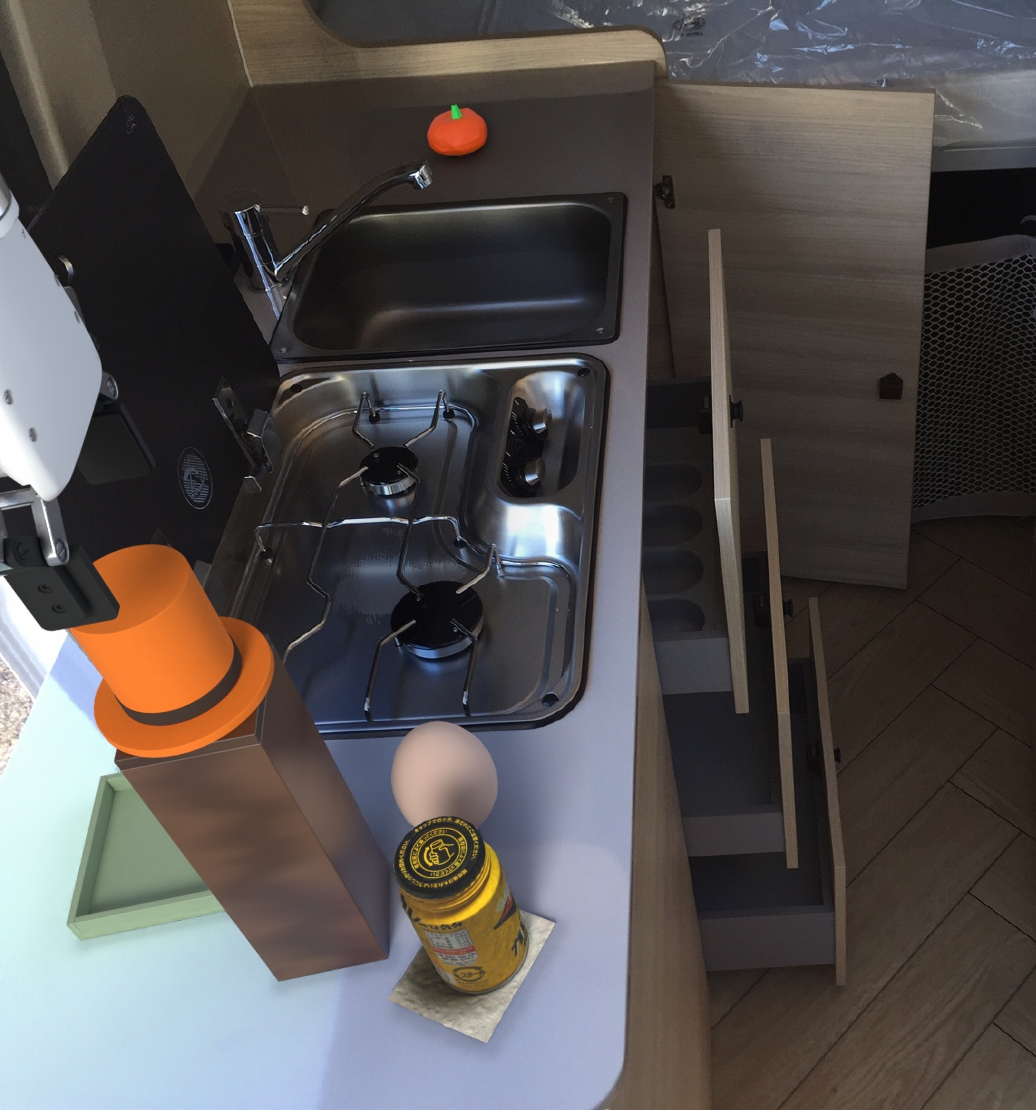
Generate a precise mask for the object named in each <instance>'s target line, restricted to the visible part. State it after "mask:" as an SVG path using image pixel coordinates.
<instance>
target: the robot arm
mask: <svg viewBox="0 0 1036 1110" xmlns="http://www.w3.org/2000/svg"><path fill="white" fill-rule="evenodd" d="M19 215H20V206H19V204H18V202H17V200H16V198H15V196H14V195H13V192H12V190H11V189H10V187H9V185H8V183H7V182H6V180H5V178H4V176H3V174H2V172H0V478H6V477H9V478H11V479H12V480H13V481H15V482H17V483H18V484H20V486H23V487H24V486H27V485H29V486H30V487H26V488H20V489H15V490H10V491H4V492H0V577H3V578H4V580H5V581H6V583H8V585H9V587H10V588H11V589H12V591H14V593H15V595H16V596H17V597H18V598H19V600H20V601H21V603H22V605H24V607H25V608H26V610H27V611H28V612H29V613H30V615H31V616H32V618H33V619H34V620H35V621H36V623H37V624H38V626H39V627H40V628H41V629H42V630H43V631H47V632H56V631H62V630H67V629H68V630H69V628H73V627H78V626H84V625H89V624H94V623H99V622H105V621H110V620H114V619H116V618H117V616H118V613H119V609H120V605H119V603H118V601H117V600H116V598H115V597H114V595H113V594H112V592H111V590H110V589H109V587H108V586H107V584H106V583H105V581H104V580H103V578H102V577H101V575H100V574H99V572H98V571H97V569H96V568H95V566H94V565H93V563H94V562H92V560H91V558H90V557H89V555H88V554H87V552H86V551H85V549H84V548H83V546H82V545H81V543H78V544H77V543H76V544H69V543H68V539H67V538H68V537H67V534H66V530H65V529H66V528H65V525H64V520H63V517H62V512H61V507H60V504H59V499H58V496H59V495H60V494H61V493H62V492H63V491H64V490H65V488H66V486H67V485H68V484H69V482H70V480H71V478H72V476H73V473H74V471H75V467H76V466H77V468H78V469H79V471H80V472H81V474H82V475H83V478H84V479H85V481H86V482H87V483H89V484H91V485H94V486H95V485H100V484H101V485H102V484H107V483H111V482H118V481H122V480H123V481H124V480H129V479H135V478H141V477H145V476H149V475H151V474H153V473H154V472H155V467H156V460H155V458H154V457H153V455H152V453H151V451H150V449H149V448H148V445H147V443H146V442H145V440H144V439H143V436H142V435H141V433H140V431H139V430H138V427H137V426H136V424H135V422H134V420H133V419H132V417H131V415H130V413H129V411H128V410H127V407H126V406H125V404H124V403H123V401H118V402H113V401H117V400H119V395H120V393H119V388H118V387H119V386H118V383H117V381H116V379H115V378H114V377H113V375H112V374H110V373H108V372H106V371H104V370H103V367H102V362H101V358H100V357H101V356H100V353H99V350H100V343H97V341H98V338H97V337H96V336H95V335H94V334H93V333H92V332H91V331H88V330H87V327H88V326H87V323H86V320H85V317H84V314H83V311H82V309H81V305H80V301H79V299H78V296H77V293H76V291H75V290H74V288H73V287H72V286H69V285H67V286H62V284H61V282H60V280H59V279H58V277H57V275H56V274H55V272H54V271H53V269H52V268H51V266H50V265H49V263H48V262H47V260H46V258H45V257H44V255H43V253H42V252H41V251H40V248H39V247H38V246H37V244H36V243H35V241H34V239H33V238H32V237H31V236H30V234H29V232H28V231H27V229H26V228H25V226H24V225H23V223H22V222H21V221H20V219H19ZM27 506H30V508H31V512H32V516H33V520H34V525H35V530H36V533H37V536H25V535H15V536H9V534H8V530H7V527H6V522H5V518H4V515H3V511H5V510H11V509H15V508H21V507H27Z"/></svg>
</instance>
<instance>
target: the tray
mask: <svg viewBox="0 0 1036 1110" xmlns="http://www.w3.org/2000/svg"><path fill="white" fill-rule="evenodd" d="M86 833H87V834H86V837H85V840H84V841H85V842H84V846H83V850H82V855H81V858H80V863H79V868H78V872H77V876H76V881H75V883H74V884H75V885H74V889H73V894H72V897H71V902H70V907H69V911H68V915H67V919H66V923H65V926H66V927H67V928H68V929H69V930H70V932H72V933H73V934H74V935H75V936H76V938H77V939H78V940H80V941H84V940H90V939H95V938H99V937H104V936H109V935H113V934H114V935H115V934H119V933H124V932H129V931H135V930H138V929H144V928H148V927H154V926H158V925H162V924H168V923H173V922H178V921H182V920H188V919H193V918H196V917H202V916H208V915H213V914H218V913H222V912H226V911H225V910H224V908H223V907H222V906H221V904H220V903H219V902H218V900H217V899H216V898H215V896H214V895H213V894H212V892H211V891H210V890H209V888H208V887H207V886H206V884H205V883H204V882H203V880H202V879H201V878H200V876H199V875H198V874H197V872H196V871H195V870H194V868H193V867H192V866H191V864H190V863H189V862H188V860H187V859H186V858H185V856H184V855H183V854H182V852H181V851H180V850H179V848H178V847H177V846H176V844H175V843H174V842H173V840H172V839H171V838H170V836H169V835H168V834H167V832H166V831H165V830H164V828H163V827H162V826H161V824H160V823H159V822H158V820H157V819H156V818H155V816H154V815H153V814H152V812H151V811H150V810H149V808H148V807H147V806H146V804H145V803H144V802H143V800H142V799H141V798H140V796H139V795H138V794H137V792H136V791H135V790H134V788H133V787H132V786H131V784H130V783H129V782H128V780H127V779H126V778H125V776H124V775H123V774H122V772H121V771H119V772H114V773H110V774H105V775H101V776H99V781H98V785H97V789H96V794H95V798H94V803H93V807H92V811H91V815H90V820H89V825H88V828H87V832H86Z"/></svg>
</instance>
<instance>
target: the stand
mask: <svg viewBox="0 0 1036 1110" xmlns="http://www.w3.org/2000/svg"><path fill="white" fill-rule="evenodd" d="M262 635H263V636H264V637H265V639H266V640H267V642H268V644H269V646H270V648H271V651H272V653H273V658H274V672H273V678H272V681H271V684H270V687H269V689H268V691H267V693H266V695H265V697H264V698H263V700H262V701H261V703H260V704H259V705H258V707H257V708H256V709H255V710H254V711H253V713H252V714H251V715H250V716H249V717H248V718H247V719H246V720H245V721H244V722H242V723H241V724H240V725H239V726H237V727H236V728H235V729H234V730H232V731H231V732H229V733H228V734H226V735H225V736H223V737H222V738H220V739H218V740H216V741H214V742H213V743H210V744H208V745H206V746H204V747H202V748H199V749H196V750H193V751H191V752H187V753H183V754H180V755H175V756H169V757H157V758H151V757H140V756H134V755H131V754H128V753H125V752H123V751H121V750H119V749H117V748H115V755H114V759H113V763H114V764H115V766H116V767H117V768H118V769H119V770H120V772H122V774H123V775H124V776H125V778H126V779H127V780H128V782H129V783H130V784H131V786H132V787H133V788H134V790H135V791H136V792H137V794H138V795H139V796H140V798H141V799H142V800H143V802H144V803H145V804H146V806H147V807H148V808H149V810H150V811H151V812H152V814H153V815H154V816H155V818H156V819H157V820H158V822H159V823H160V824H161V826H162V827H163V828H164V830H165V831H166V832H167V834H168V835H169V836H170V838H171V839H172V840H173V842H174V843H175V844H176V846H177V847H178V848H179V850H180V851H181V852H182V854H183V855H184V856H185V858H186V859H187V860H188V862H189V863H190V864H191V866H192V867H193V868H194V870H195V871H196V872H197V874H198V875H199V876H200V878H201V879H202V880H203V882H204V883H205V884H206V886H207V887H208V888H209V890H210V891H211V892H212V894H213V895H214V896H215V898H216V899H217V900H218V902H219V903H220V904H221V906H222V907H223V908H224V910H225V911H224V912H226V914H227V915H228V916H229V918H230V920H231V921H232V922H233V923H234V924H235V926H236V927H237V929H238V930H239V931H240V933H241V934H242V935H243V937H244V938H245V939H246V941H247V942H248V943H249V944H250V946H251V947H252V949H253V950H254V951H255V952H256V954H257V955H258V957H259V958H260V959H261V960H262V962H263V963H264V964H265V965H266V967H267V969H268V970H269V972H270V973H271V974H272V975H273V976H274V978H275V979H276V981H277V982H283V981H284V982H285V981H289V980H293V979H297V978H302V977H303V978H304V977H307V976H312V975H317V974H322V973H327V972H332V971H337V970H340V969H346V968H351V967H355V966H359V965H364V964H365V965H366V964H368V963H372V962H373V963H374V962H378V961H384V960H387V959H389V927H390V923H389V922H390V880H391V879H390V877H391V875H390V874H391V865H390V863H389V861H388V859H387V857H386V855H385V853H384V851H383V849H382V847H381V845H380V844H379V841H378V840H377V839H376V836H375V835H374V832H373V831H372V828H371V827H370V825H369V823H368V821H367V819H366V817H365V816H364V813H363V811H362V810H361V808H360V805H359V803H358V802H357V800H356V798H355V796H354V795H353V793H352V791H351V788H350V787H349V785H348V783H347V782H346V779H345V778H344V775H343V774H342V772H341V770H340V768H339V765H337V762H336V759H334V757H333V755H332V753H331V751H330V749H329V747H328V745H327V744H326V742H325V740H324V737H323V735H322V734H321V732H320V730H319V729H318V727H317V724H316V722H315V721H314V719H313V717H312V715H311V713H310V711H309V709H308V707H307V706H306V704H305V701H304V700H303V698H302V696H301V695H300V692H299V691H298V689H297V687H296V685H295V683H294V681H293V679H292V678H291V675H290V674H289V672H288V670H287V668H286V666H285V664H284V662H283V660H282V658H281V657H280V655H279V653H278V651H277V649H276V648H275V645H274V643H273V641H272V640H271V638H270V636H269V634H268V633H262Z"/></svg>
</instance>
